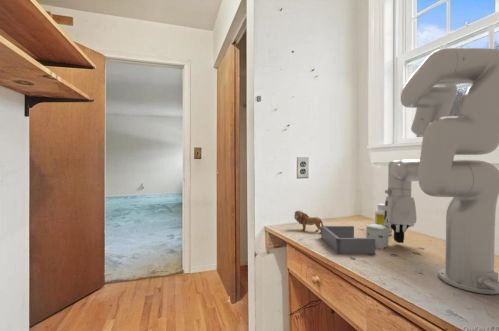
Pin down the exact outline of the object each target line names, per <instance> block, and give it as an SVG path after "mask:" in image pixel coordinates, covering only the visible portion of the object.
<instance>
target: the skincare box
mask: <svg viewBox="0 0 499 331" xmlns="http://www.w3.org/2000/svg"><path fill="white" fill-rule="evenodd" d="M365 232H366V233H365V235H366V236H365V238H374V239H375V248H377V247H378V249H381V250H383V249H385V248H386V246H387V247H388V246H389V243H390V242H389V238H390V235H389V227H388V226H383V225H378V224H375V223H370V224H368V225H366V231H365ZM384 247H385V248H384Z"/></svg>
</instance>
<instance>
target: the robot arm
mask: <svg viewBox="0 0 499 331" xmlns="http://www.w3.org/2000/svg"><path fill="white" fill-rule="evenodd" d="M457 84H471V85H470V86H469V87H468V88H467V89H466V91H465V92H464V94H463V95H462V97H461V98H460V102H459V109H458V113H457V116H451V115H450V112H451V110H452V107H453V105H454V101H455V99H456V96H457V93H458V86H457ZM400 103H401V104H402V106H403V107H404V108H408V109H409V108H411V109H415V108H416V111H415V114H414V118H413V120H412V124H411V127H410V129H411V132H412V133H413V134H415V135H416V136H418V137H421V138H422V141H421V149H420V150H421V151H420V156H419V158H417V159H416V158H415V159H407V158H406V159H400V160H391V161H390V160H389V162H388V166H387V167H388V174H387V175H388V177H387V182H388V183H387V184H388V185H387V189H385V190H384V193H385V194H387V196H386V197H385V202H384V204H385V206H384V220H385V222H384V225H385V226H388V227H391V228H392V231H393V240H394V241H395V242H396V243H398V244H403V243H404V242H405V233H406V232H407V230H408V229H409V228H412V227H415V225H416V224H417V209H416V208H417V206H416V202H415V199H414V197H413V196H412V182H418V185H419V188H420V190H421V191H422V192H423V193H424V194H425V195H428V196H429V197H436V198H452V199H451V200H450V203H449V204H448V206H447V209H446V213H445V264H444V265H445V268H441V269H439V270H438V271H437V276H438V277H439V279H440V280H441V281H443V282H444V283H446V284H448V285H449V286H450V285H451V286H453V287H455V288H458V289H460V290H464V291H466V292H467V291H468V292H470V293H471V292H473V293H476V294H482V295H483V294H484V295H499V272H496V271H495V243H496V242H495V238H496V237H495V236H496V233H495V232H496V230H495V229H496V212H497V203H498V198H499V168H498V167H496V165H494V164H492V163H490V162H487V161H484V160H480V159H479V160H477V159H454V158H455V156H481V155H487V154H490V153H492V152H494V151H495V150H497V148H498V147H499V49H498V48H487V47H486V48H485V47H484V48H483V47H468V48H467V47H466V48H465V47H464V48H463V47H462V48H461V47H460V48H457V47H456V48H455V47H450V48H449V47H446V48H440V49H436V50H434V51H433V52H431V53H430V54H429V55H428V56H427V57H426V58H425V59H424V60H423V62H422V63H421V64H420V65H418V67H417V69H416V70H415V71H414V72H413V73H412V74H411V75H410V77H409V78H408V80H407V81H406V83H405V84H404V86H403V88H402V90H401V93H400ZM390 223H391V224H390Z"/></svg>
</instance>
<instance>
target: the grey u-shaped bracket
mask: <svg viewBox="0 0 499 331" xmlns="http://www.w3.org/2000/svg"><path fill="white" fill-rule="evenodd" d="M320 226H321V231H320V232H321V234H320V236H321V239H322V240H323V241H324V242H325V243H326V245H328V247H330V248H331V250H333V251H334V252H335V253H336V254H341V255H342V254H344V255H345V254H346V255H349V254H356V255H357V254H360V255H361V254H364V255H366V254H367V255H368V254H370V255H374V254H376V247H375V239H374V238H366V237H355V227H354V225H323V226H322V225H320ZM371 253H372V254H371Z"/></svg>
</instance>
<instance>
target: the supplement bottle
mask: <svg viewBox="0 0 499 331" xmlns="http://www.w3.org/2000/svg"><path fill="white" fill-rule="evenodd" d="M384 206H385V203H377V209H375V211H374V224H378V225H383V226H385V225H384V222H385V220H384ZM390 224H391V223H390ZM392 234H393V230H392V228H391V227H389V236H390V235H392Z"/></svg>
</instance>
